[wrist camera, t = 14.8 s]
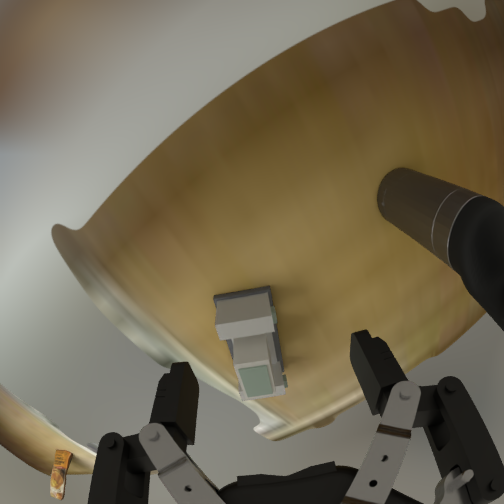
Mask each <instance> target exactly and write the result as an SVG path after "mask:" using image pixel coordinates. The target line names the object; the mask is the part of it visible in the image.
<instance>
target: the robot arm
mask: <svg viewBox="0 0 504 504" xmlns="http://www.w3.org/2000/svg"><path fill="white" fill-rule="evenodd" d="M377 201H378V207H379V210H380V212H381V214H382V216H383V217H384V218H385V219H386V220H387V221H389V222H390V223H392V224H393V225H394V226H396V227H397V228H399V229H400V230H401V231H403V232H404V233H406V234H407V235H408V236H410V237H411V238H412V239H414V240H415V241H417V242H418V243H419V244H421V245H422V246H423V247H425V248H426V249H427V250H429V251H430V252H431V253H433V254H434V255H435V256H436V257H438V258H439V259H440V260H442V261H443V262H444V263H446V264H447V265H448V266H449V267H451V268H452V269H453V270H454V271H456V272H457V273H458V274H459V275H460V276H461V278H462V281H463V283H464V285H465V287H466V289H467V290H468V292H469V293H470V294H471V295H472V297H473V298H474V299H475V300H476V301H477V302H478V303H479V304H480V305H481V306H482V307H483V308H484V309H485V311H486V312H487V313H488V314H489V315H490V316H491V317H492V318H493V319H494V321H495V322H496V323H497V324H498V325H499V326H500V327H501V329H502V330H503V331H504V207H503V206H502V205H501V204H500V203H498V202H497V201H495V200H493V199H490V198H488V197H486V196H483V195H480V194H478V193H476V192H473V191H471V190H468V189H465V188H462V187H460V186H457V185H455V184H452V183H449V182H446V181H443V180H441V179H438V178H435V177H432V176H429V175H426V174H423V173H420V172H417V171H413V170H410V169H406V168H398V169H395V170H393V171H391V172H390V173H388V174H387V175H386V176H385V178H384V179H383V181H382V182H381V184H380V187H379V190H378V198H377ZM350 360H351V364H352V367H353V369H354V372H355V374H356V376H357V379H358V381H359V383H360V386H361V388H362V390H363V393H364V395H365V398H366V400H367V402H368V405H369V407H370V410H371V413H372V415H376V414H380V416H381V418H382V419H381V422H380V424H379V426H378V429H377V431H376V434H375V436H374V438H373V441H372V443H371V445H370V448H369V450H368V452H367V454H366V457H365V458H364V461H363V463H362V465H361V467H360V469H359V470H358V469H356V468H353V467H348V466H335V462H334V461H333V462H328V463H324V464H319V465H315V466H310V467H308V468H306V469H303V470H301V471H299V472H296V473H294V474H291V475H289V476H276V475H264V474H257V475H246V476H237V481H236V482H233V483H231V484H228V485H226V486H224V487H223V488H221V489H220V490H219V489H218V488H217V487H216V485H215V484H214V483H213V482H212V481H211V480H209V478H208V477H207V476H206V475H205V474H204V473H203V471H202V470H201V469H200V468H199V467H198V466H197V464H196V463H195V462H194V461H193V460H192V458H191V457H190V456H189V454H188V453H187V452H186V448H187V445H194V441H195V428H196V418H197V408H198V398H199V384H198V381H197V379H196V377H195V375H194V373H193V371H192V369H191V367H190V365H189V363H188V362H177V363H172V365H171V370H170V373H167V374H164V375H163V376H162V378H161V379H160V381H159V384H158V387H157V392H156V396H155V397H156V398H155V400H154V405H153V409H152V413H151V418H150V422H149V424H148V425H146V426H144V427H143V428H142V429H141V431H140V433H138V434H135V435H131V436H126V437H122V436H121V435H120V434H118V433H115V432H111V433H107V434H105V435H104V436H103V437H102V438H101V440H100V442H99V447H98V451H97V455H96V460H95V465H94V470H93V475H92V481H91V486H90V492H89V498H88V504H148V495H149V482H150V471H153V470H158V472H159V473H158V476H159V478H160V480H161V481H162V483H163V484H164V486H165V487H166V488H167V490H168V491H169V493H170V494H171V495H172V497H173V498H174V499H175V501H176V502H177V503H178V504H423V503H421V502H419V501H417V500H415V499H413V498H411V497H409V496H406V495H404V494H403V493H400V492H398V491H397V490H395V489H393V488H392V486H393V484H394V482H395V479H396V477H397V474H398V472H399V469H400V467H401V464H402V462H403V459H404V456H405V453H406V451H407V448H408V445H409V442H410V438H411V429H412V428H416V427H423V428H424V431H425V433H426V435H427V438H428V441H429V443H430V446H431V449H432V452H433V454H434V457H435V460H436V463H437V466H438V468H439V471H440V474H441V477H442V479H441V480H440V481H439V483H438V484H437V486H436V488H435V502H434V504H488V503H490V502H492V501H494V500H495V499H497V498H499V497H500V496H501V495H502V494H503V493H504V466H503V464H502V461H501V458H500V456H499V454H498V451H497V449H496V447H495V445H494V443H493V440H492V438H491V436H490V434H489V432H488V430H487V428H486V426H485V424H484V422H483V420H482V418H481V416H480V414H479V412H478V410H477V408H476V406H475V405H474V403H473V401H472V400H471V397H470V396H469V394H468V392H467V390H466V389H465V387H464V385H463V383H462V382H461V381H460V380H459V379H458V378H456V377H453V376H448V377H444V378H443V379H441V380H440V381H439V383H438V385H432V386H418V385H417V384H415V383H414V382H411V381H408V379H407V378H406V376H405V374H404V372H403V371H402V369H401V367H400V365H399V364H398V362H397V360H396V358H395V357H394V355H393V353H392V352H391V351H390V348H389V347H388V345H387V343H386V342H385V341H383V340H382V339H381V338H379V337H375V338H372V337H371V335H370V334H369V332H368V330H362V331H358V332H354V333H352V334H351V345H350Z"/></svg>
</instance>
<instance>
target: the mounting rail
mask: <svg viewBox="0 0 504 504" xmlns="http://www.w3.org/2000/svg"><path fill="white" fill-rule="evenodd" d="M213 299H214V303H215V306H216V319H215V327H216V330H217V332H218V335H219V338H220V340H226V341H227V344H228V347H229V350H230V353H231V356H232V359H233V339H234V338H240V337H246V336H253V335H258V334H264V333H266V335H267V340H268V345H269V350H270V355H271V360H272V367H273V374H274V381H275V387H276V394H277V395H274V396H279V395H284V394H286V393H285V388H286V387H288V385H287V379H286V375H282V372H284V367H283V361H282V355H281V349H280V343H279V337H278V331H277V325H276V323H277V317H276V311H275V307H274V306H273V301H272V296H271V290H270V286H266V287H260V288H255V289H249V290H243V291H238V292H232V293H226V294H220V295H214V298H213ZM239 394H240V396H241V399H242V401H245V400H246V399H245V396H244V393H243V390H242V388H241V385H240V382H239ZM268 397H273V396H268ZM262 398H267V397H262ZM255 399H260V398H255ZM247 400H253V399H247Z"/></svg>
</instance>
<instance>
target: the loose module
mask: <svg viewBox="0 0 504 504" xmlns="http://www.w3.org/2000/svg"><path fill="white" fill-rule="evenodd" d="M233 365H234V368H235V371H236V374H237V377H238V379H239V382H240V385H241V388H242V390H243V393H244V396H245V399H246V400H247V399H255V398H262V397H268V396H274V395H277V394H276V387H275V381H274V374H273V367H272V360H271V355H270V350H269V345H268V340H267V335H266V333H264V334H258V335H253V336H246V337H240V338H234V339H233Z"/></svg>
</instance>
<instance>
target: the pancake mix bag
mask: <svg viewBox="0 0 504 504" xmlns="http://www.w3.org/2000/svg"><path fill="white" fill-rule="evenodd" d="M72 457H73V454H72V453H70V452H68V451H65V450H56V453H55V461H54V466H53V470H52V475H51V493H50V494H51V497H54V498H56V499H59V500H62V499H63V498H64V495H65V494H64V493H65V485H66V474H67V471H68V468H69V465H70V462H71V459H72Z"/></svg>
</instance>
